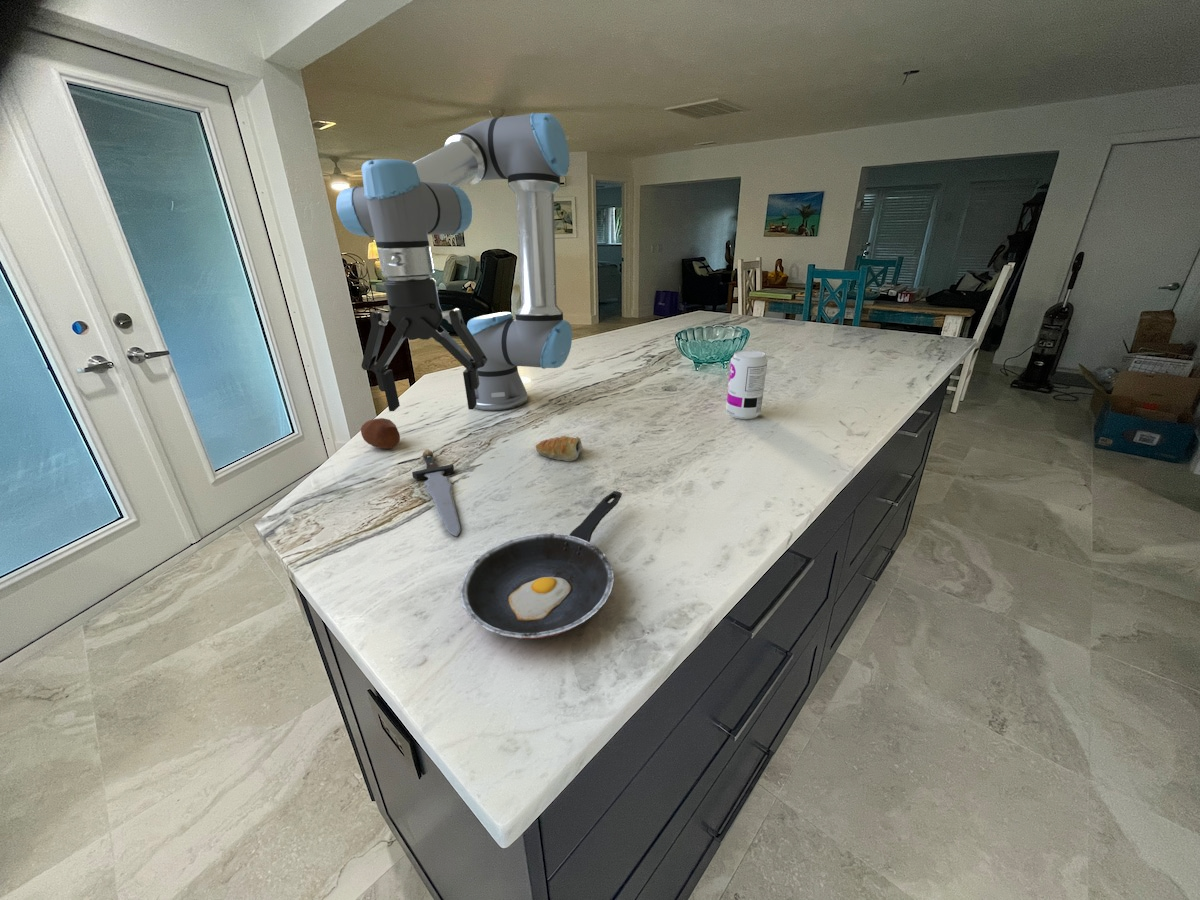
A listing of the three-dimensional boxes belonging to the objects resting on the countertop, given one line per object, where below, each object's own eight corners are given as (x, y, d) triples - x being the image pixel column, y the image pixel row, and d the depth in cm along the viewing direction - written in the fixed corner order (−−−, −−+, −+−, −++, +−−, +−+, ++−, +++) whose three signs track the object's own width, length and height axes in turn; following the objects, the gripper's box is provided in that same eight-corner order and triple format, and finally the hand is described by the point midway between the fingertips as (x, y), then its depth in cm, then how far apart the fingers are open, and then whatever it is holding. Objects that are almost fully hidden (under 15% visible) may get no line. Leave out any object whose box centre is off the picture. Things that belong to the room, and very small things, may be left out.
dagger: (439, 452, 99) (437, 443, 98) (498, 522, 75) (497, 511, 74) (402, 462, 95) (400, 453, 94) (452, 538, 71) (450, 527, 70)
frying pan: (430, 621, 56) (424, 597, 55) (570, 497, 81) (568, 478, 80) (563, 684, 48) (560, 658, 46) (672, 524, 73) (673, 504, 72)
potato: (376, 457, 98) (369, 428, 95) (359, 445, 104) (351, 418, 101) (408, 446, 102) (402, 419, 100) (389, 435, 108) (383, 409, 106)
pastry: (532, 459, 95) (530, 442, 94) (542, 445, 101) (541, 429, 100) (576, 462, 93) (575, 445, 92) (584, 448, 99) (583, 432, 98)
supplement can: (723, 417, 113) (729, 356, 107) (728, 406, 120) (734, 348, 113) (758, 421, 110) (766, 359, 104) (761, 410, 117) (769, 350, 111)
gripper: (315, 282, 69) (351, 417, 78) (484, 278, 68) (501, 413, 77) (341, 277, 75) (371, 402, 84) (495, 273, 75) (509, 398, 84)
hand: (433, 407), depth 81 cm, fingers open, 13 cm apart
